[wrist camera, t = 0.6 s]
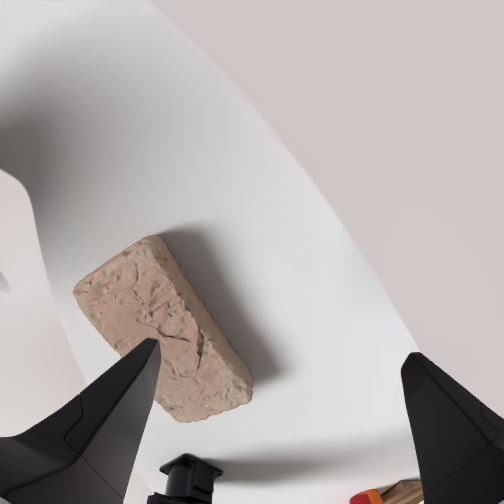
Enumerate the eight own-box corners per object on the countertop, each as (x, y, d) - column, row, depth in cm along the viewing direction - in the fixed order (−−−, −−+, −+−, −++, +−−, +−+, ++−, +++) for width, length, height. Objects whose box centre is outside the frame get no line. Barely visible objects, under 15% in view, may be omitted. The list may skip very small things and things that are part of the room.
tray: (359, 509, 38) (361, 515, 37) (400, 480, 36) (403, 487, 34) (405, 505, 41) (408, 510, 39) (442, 478, 39) (445, 483, 37)
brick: (256, 374, 27) (259, 406, 23) (186, 401, 28) (180, 432, 24) (161, 226, 23) (144, 237, 19) (90, 272, 24) (65, 290, 20)
